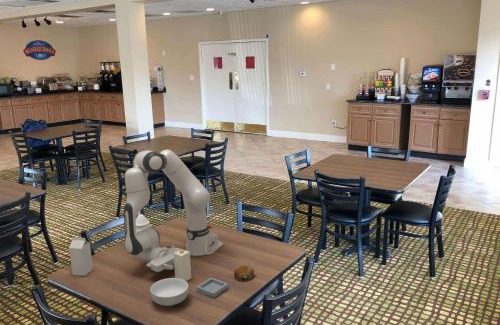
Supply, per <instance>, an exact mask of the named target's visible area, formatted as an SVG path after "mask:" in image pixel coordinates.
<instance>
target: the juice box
mask: <svg viewBox="0 0 500 325" xmlns="http://www.w3.org/2000/svg"><path fill="white" fill-rule="evenodd" d="M180 249H181V250H179V251H177V252H175V253H174V264H173V266H174V278H178V279H182V280H185V281H186V282H187V281H189V280H191V279H192V269H191V255H190V252H189V251H186V249H183V248H180Z"/></svg>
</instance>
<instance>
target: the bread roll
mask: <svg viewBox="0 0 500 325" xmlns="http://www.w3.org/2000/svg"><path fill="white" fill-rule="evenodd" d="M254 273H255V271H254V268H253V267H252V266H251V265H249V264H247V263H239V264H238V265H237V266H236V267H235V268H234V271H233V276H234V278H235V280H236V279H237V280H236V281H239V280H240V281H241V282H246V280H247V281H250V280H251V279H253V278H254V277H255V274H254ZM252 277H253V278H252ZM249 279H250V280H249ZM240 281H239V282H240Z"/></svg>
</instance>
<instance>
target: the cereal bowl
mask: <svg viewBox="0 0 500 325" xmlns="http://www.w3.org/2000/svg"><path fill="white" fill-rule="evenodd" d="M149 290H150V296H151V300H153V302H154V303H156V304H157V305H160V306H167V307H171V306H175V305H178V304H180V303H182V302H183V301H184V300H186V298H187V297H188V295H189V284H188V282H187V281H185V280H182V279H178V278H175V277H169V278H164V279H163V278H162V279H160V280H158V281H156V282H154V283H153V284H152V285H151V287H150V288H149Z"/></svg>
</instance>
